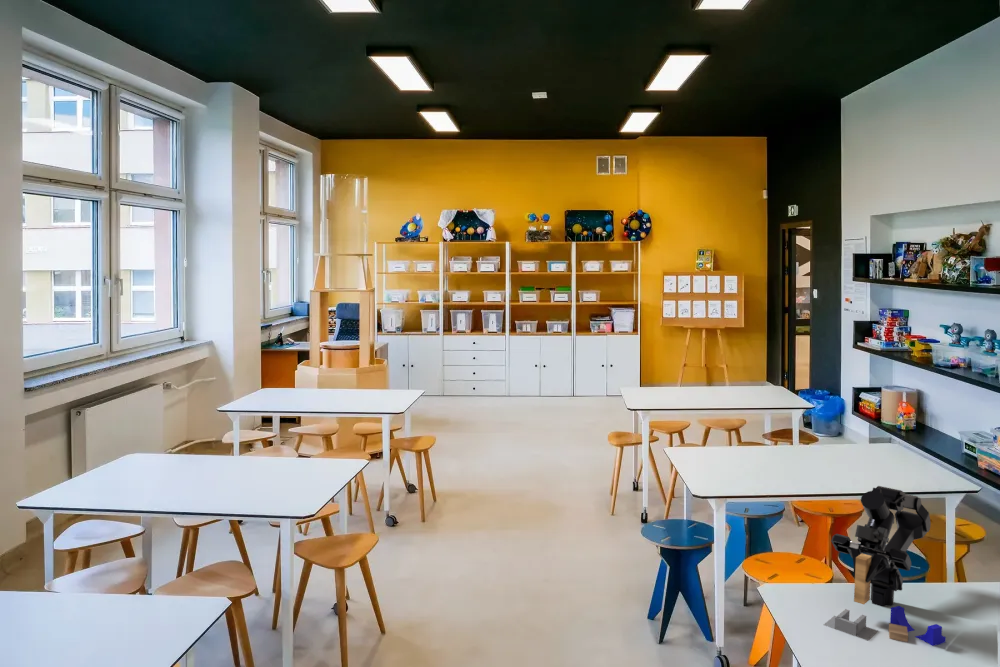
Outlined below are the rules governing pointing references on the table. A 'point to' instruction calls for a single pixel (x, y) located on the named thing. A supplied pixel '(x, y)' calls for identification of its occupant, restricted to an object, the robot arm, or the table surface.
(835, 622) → the rack
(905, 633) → the upper offcut
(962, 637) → the table surface
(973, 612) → the table surface
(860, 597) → the tall strip
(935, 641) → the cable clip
